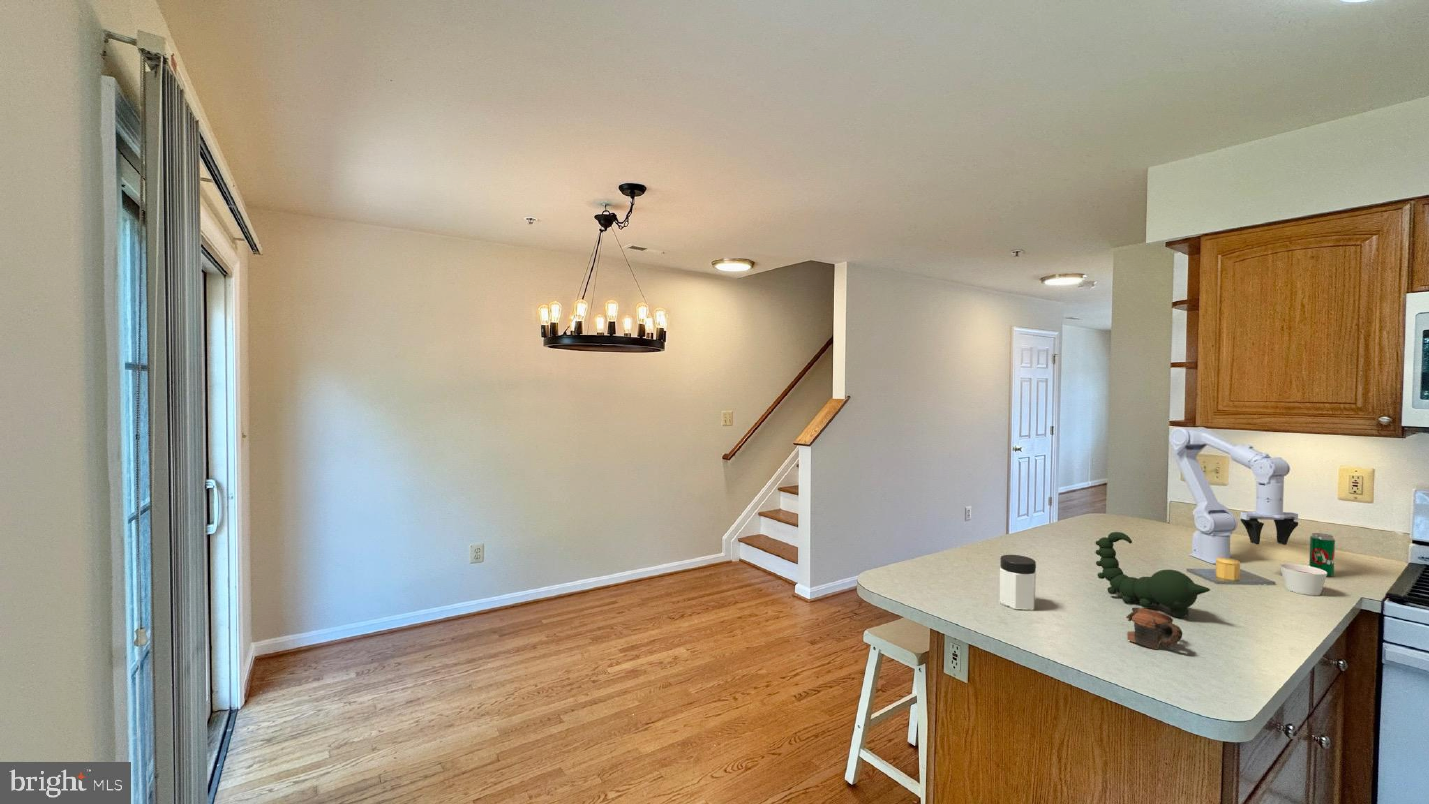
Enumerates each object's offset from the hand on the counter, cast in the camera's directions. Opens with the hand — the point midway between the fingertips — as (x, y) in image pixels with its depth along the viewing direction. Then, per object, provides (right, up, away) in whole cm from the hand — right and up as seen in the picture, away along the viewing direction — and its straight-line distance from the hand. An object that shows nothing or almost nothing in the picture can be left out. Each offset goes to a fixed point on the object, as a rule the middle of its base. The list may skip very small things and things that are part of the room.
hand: (1268, 543), depth 165 cm
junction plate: (-12, -10, 0) cm, 16 cm away
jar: (-85, -11, -20) cm, 88 cm away
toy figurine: (-52, -11, -22) cm, 58 cm away
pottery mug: (-67, -12, -41) cm, 79 cm away
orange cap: (-14, -9, -2) cm, 17 cm away
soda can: (+18, -10, +2) cm, 21 cm away
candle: (-2, -11, -11) cm, 16 cm away
